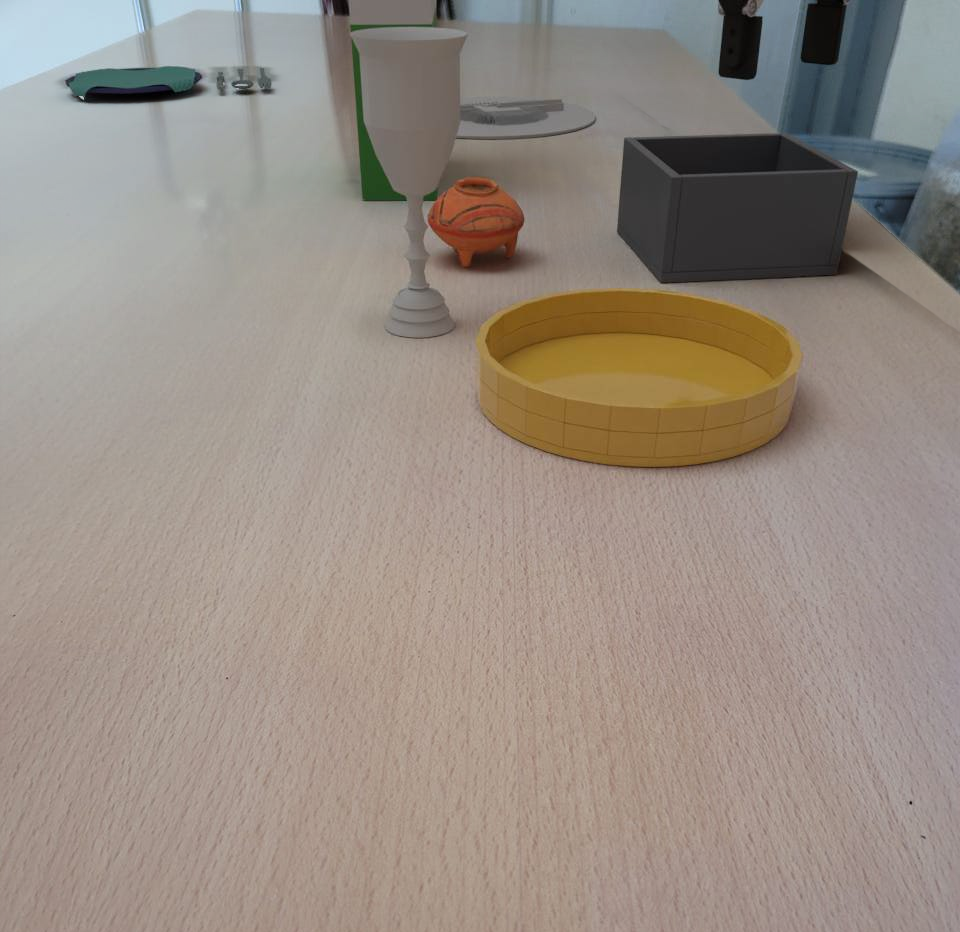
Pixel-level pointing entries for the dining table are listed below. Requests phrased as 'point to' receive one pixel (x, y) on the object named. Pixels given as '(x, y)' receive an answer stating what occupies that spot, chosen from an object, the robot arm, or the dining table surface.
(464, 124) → the plate
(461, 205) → the pot
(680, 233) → the bin
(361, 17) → the white green box
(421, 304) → the chalice
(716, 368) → the bowl
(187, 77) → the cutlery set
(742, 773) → the dining table surface
